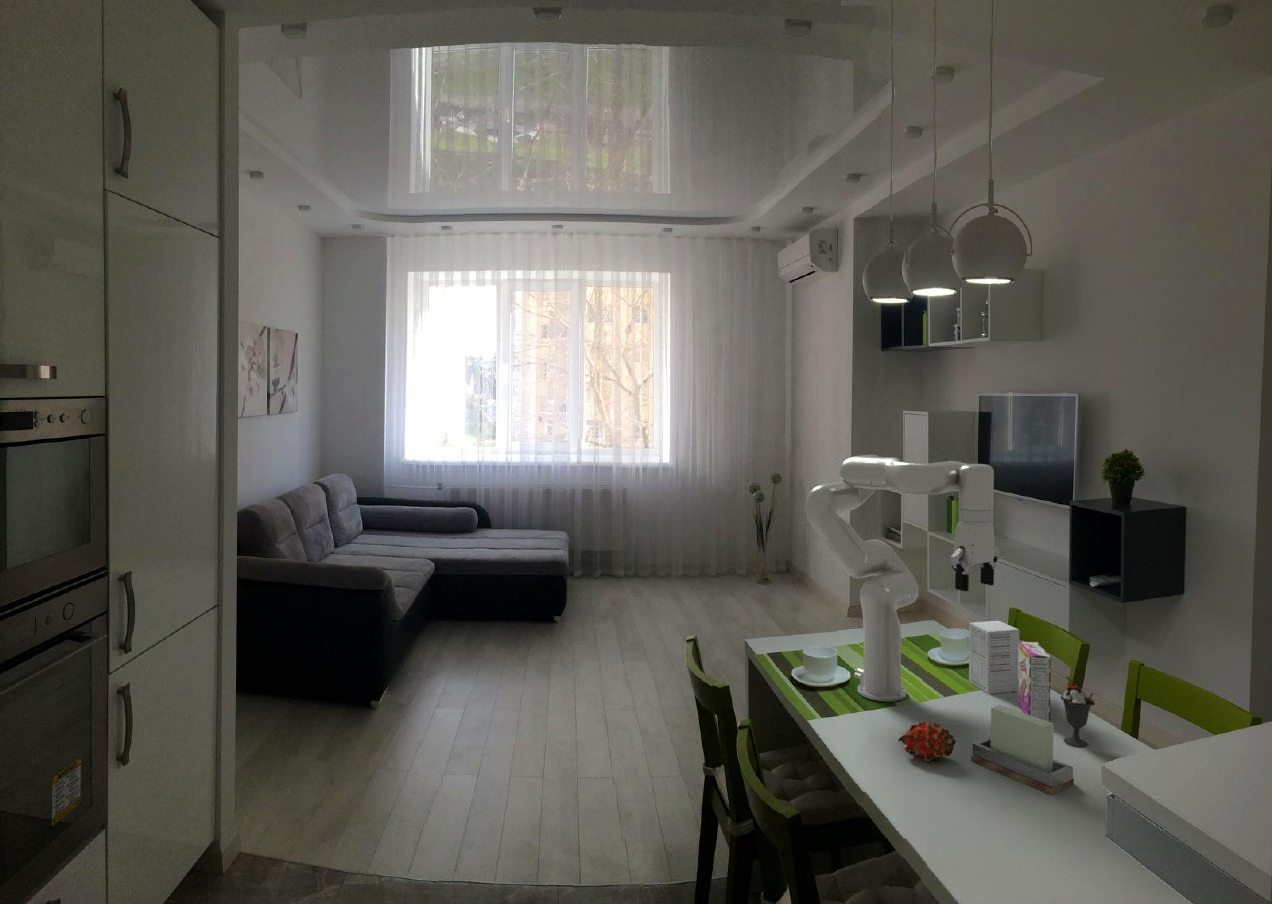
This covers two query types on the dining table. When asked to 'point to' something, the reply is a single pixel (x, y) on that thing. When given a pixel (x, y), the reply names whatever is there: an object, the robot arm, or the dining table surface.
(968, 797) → the dining table surface
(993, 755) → the open rectangular box
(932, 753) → the dragon fruit
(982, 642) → the supplement box
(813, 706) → the dining table surface
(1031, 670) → the candy bar box
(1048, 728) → the pale green rectangular block
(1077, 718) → the sundae
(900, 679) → the robot arm
